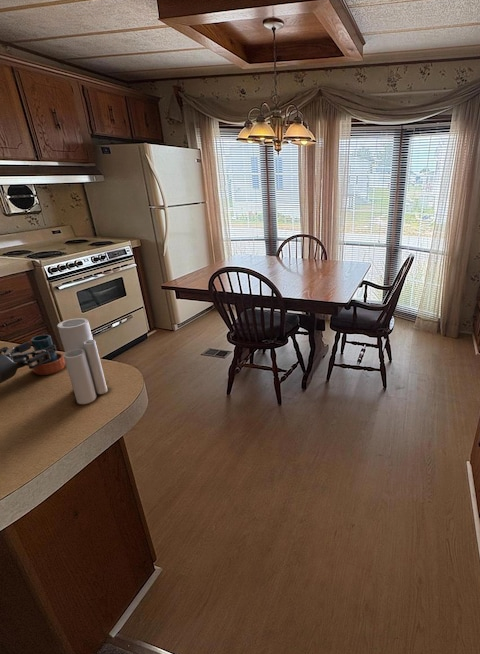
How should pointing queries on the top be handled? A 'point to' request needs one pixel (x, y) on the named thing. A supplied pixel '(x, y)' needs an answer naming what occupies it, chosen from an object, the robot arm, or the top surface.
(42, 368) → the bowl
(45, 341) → the cup
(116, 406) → the top surface
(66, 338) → the vase
